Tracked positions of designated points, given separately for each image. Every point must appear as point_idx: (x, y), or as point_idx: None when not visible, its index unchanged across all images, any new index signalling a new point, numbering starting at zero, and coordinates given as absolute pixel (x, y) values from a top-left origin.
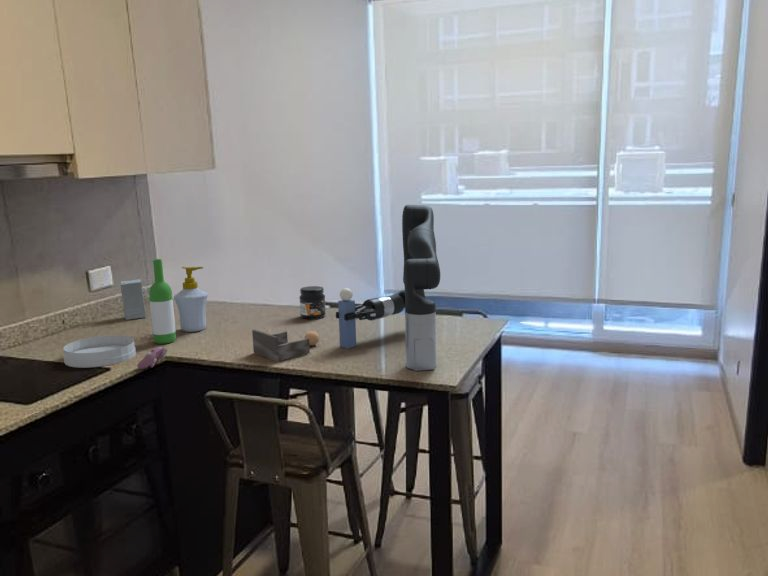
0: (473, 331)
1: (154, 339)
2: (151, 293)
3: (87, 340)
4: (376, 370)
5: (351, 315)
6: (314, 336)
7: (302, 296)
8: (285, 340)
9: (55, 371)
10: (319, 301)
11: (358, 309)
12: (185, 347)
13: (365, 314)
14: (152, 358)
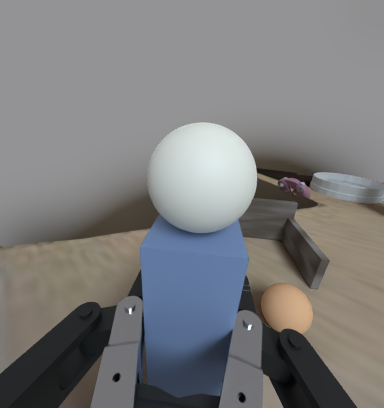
0: None
1: None
2: None
3: (377, 184)
4: (4, 270)
5: (137, 279)
6: (266, 294)
7: None
8: (311, 272)
9: (309, 179)
10: None
11: (128, 345)
12: (363, 220)
13: (51, 375)
14: (278, 181)
